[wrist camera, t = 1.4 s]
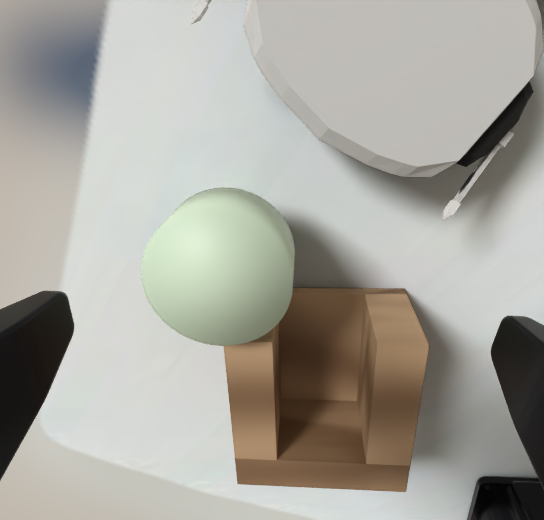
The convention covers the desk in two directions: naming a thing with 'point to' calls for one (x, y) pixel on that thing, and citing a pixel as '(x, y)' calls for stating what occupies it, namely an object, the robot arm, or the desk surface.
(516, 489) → the robot arm
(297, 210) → the desk surface
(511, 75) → the robot toy
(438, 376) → the desk surface
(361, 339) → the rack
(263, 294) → the peg
